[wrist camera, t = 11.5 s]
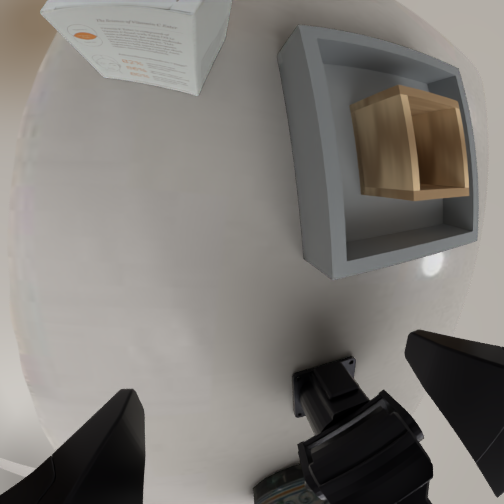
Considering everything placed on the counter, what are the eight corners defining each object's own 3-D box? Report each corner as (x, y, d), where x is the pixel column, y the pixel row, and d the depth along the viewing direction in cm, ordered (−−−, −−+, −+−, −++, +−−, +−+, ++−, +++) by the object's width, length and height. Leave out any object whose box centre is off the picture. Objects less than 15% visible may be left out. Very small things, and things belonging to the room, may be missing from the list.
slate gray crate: (441, 230, 23) (477, 240, 18) (303, 258, 21) (332, 280, 16) (424, 79, 19) (458, 68, 14) (276, 55, 16) (298, 24, 12)
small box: (226, 40, 15) (250, -54, 5) (198, 99, 16) (198, 15, 6) (132, 22, 14) (101, -61, 3) (101, 78, 14) (35, 11, 4)
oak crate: (417, 189, 20) (469, 195, 14) (360, 194, 19) (414, 201, 13) (408, 112, 18) (457, 101, 12) (349, 105, 17) (398, 84, 12)
